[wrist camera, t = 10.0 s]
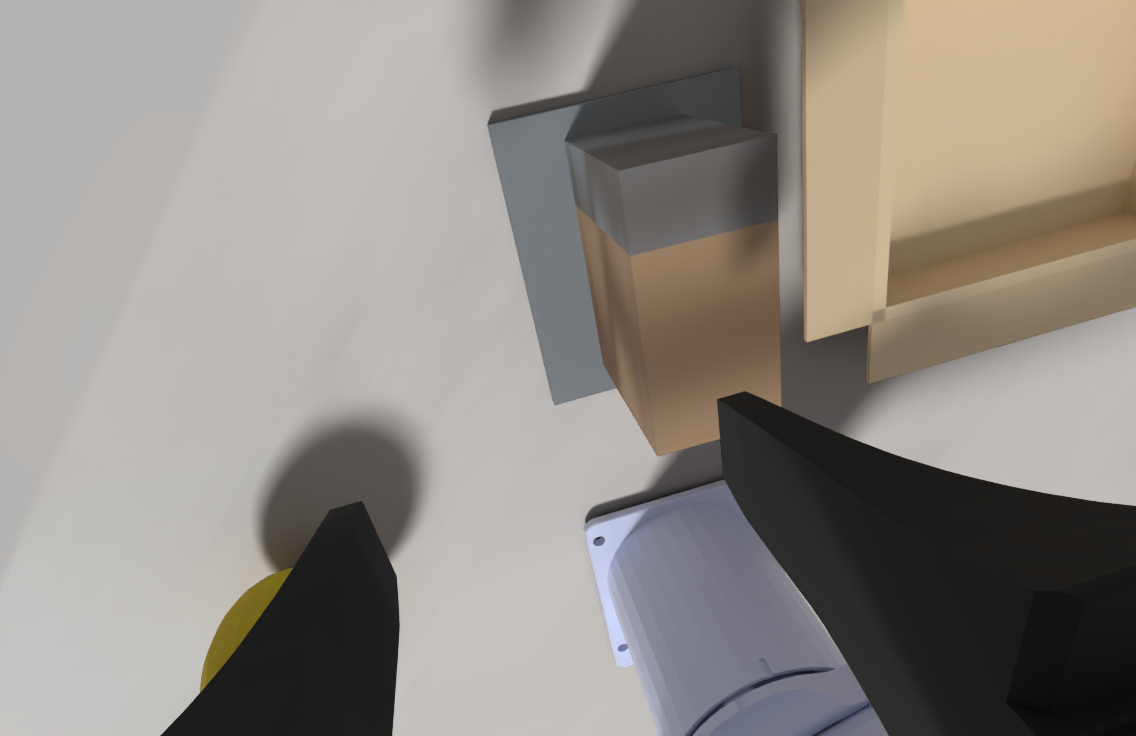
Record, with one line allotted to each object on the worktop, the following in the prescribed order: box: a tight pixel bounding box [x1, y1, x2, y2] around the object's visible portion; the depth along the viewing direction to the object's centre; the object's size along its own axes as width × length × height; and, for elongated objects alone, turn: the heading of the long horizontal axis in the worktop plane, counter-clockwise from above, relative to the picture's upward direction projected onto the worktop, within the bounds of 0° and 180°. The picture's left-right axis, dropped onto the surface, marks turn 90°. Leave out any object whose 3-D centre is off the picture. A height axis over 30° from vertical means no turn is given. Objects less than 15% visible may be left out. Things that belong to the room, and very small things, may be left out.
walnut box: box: [564, 114, 781, 456], centre depth 18 cm, size 8×4×6 cm, turn 10°
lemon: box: [200, 568, 293, 692], centre depth 21 cm, size 6×6×8 cm
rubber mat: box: [487, 68, 742, 405], centre depth 21 cm, size 10×8×1 cm
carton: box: [802, 0, 1136, 384], centre depth 21 cm, size 16×18×2 cm
